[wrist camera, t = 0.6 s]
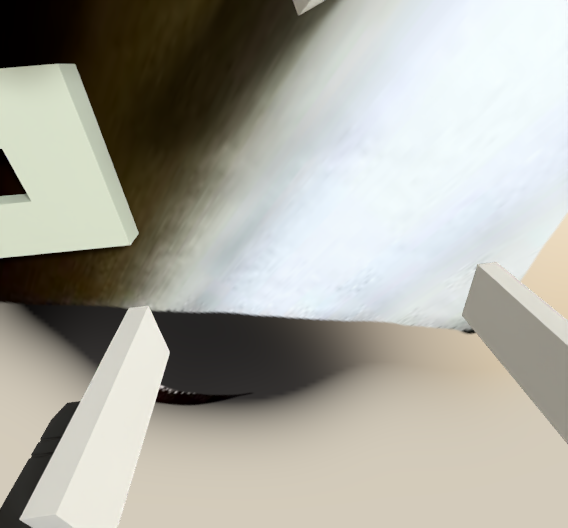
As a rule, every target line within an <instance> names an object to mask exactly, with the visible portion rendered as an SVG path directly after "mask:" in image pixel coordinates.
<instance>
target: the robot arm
mask: <svg viewBox="0 0 568 528" xmlns="http://www.w3.org/2000/svg"><path fill="white" fill-rule="evenodd" d="M462 316H463V317H464V319H465V320H466V321H467V322H468V323H469V325H470V326H471V327H472V328H473V330H474V331H475V332H476V333H477V334H478V336H479V337H480V338H481V339H482V340H483V342H484V343H485V344H486V345H487V346H488V348H489V349H490V350H491V351H492V353H493V354H494V355H495V356H496V357H497V359H498V360H499V361H500V362H501V364H502V365H503V366H504V367H505V368H506V370H507V371H508V372H509V373H510V375H511V376H512V377H513V378H514V379H515V380H516V382H517V383H518V384H519V385H520V387H521V388H522V389H523V390H524V392H525V393H526V394H527V395H528V396H529V398H530V399H531V400H532V401H533V402H534V404H535V405H536V406H537V407H538V409H539V410H540V411H541V412H542V413H543V415H544V416H545V417H546V418H547V419H548V421H549V422H550V423H551V424H552V426H553V427H554V428H555V429H556V430H557V432H558V433H559V434H560V435H561V436H562V438H563V439H564V440H565V441H566V442H567V444H568V320H567V319H565V318H564V317H563V316H562V315H561V314H559V313H558V312H557V311H556V310H554V309H553V308H552V307H551V306H550V305H548V304H547V303H546V302H545V301H543V300H542V299H541V298H539V296H537V295H536V294H535V293H534V292H532V291H531V290H530V289H529V288H528V287H526V286H525V285H524V284H523V283H521V282H520V281H519V280H518V279H517V278H515V277H514V276H513V275H512V274H511V273H509V272H508V271H507V270H506V269H504V268H503V267H502V266H501V265H500V264H498V263H497V262H493V263H485V264H478V265H477V268H476V271H475V275H474V278H473V281H472V284H471V287H470V291H469V294H468V297H467V300H466V303H465V307H464V310H463V313H462ZM169 353H170V352H169V350H168V348H167V345H166V343H165V341H164V339H163V337H162V334H161V332H160V330H159V328H158V326H157V324H156V321H155V319H154V317H153V315H152V312H151V310H150V308H149V306H142V307H134V308H129V309H128V311H127V313H126V315H125V317H124V319H123V321H122V323H121V324H120V326H119V328H118V330H117V332H116V334H115V336H114V338H113V340H112V342H111V344H110V346H109V348H108V350H107V352H106V354H105V355H104V357H103V359H102V361H101V363H100V365H99V367H98V369H97V371H96V373H95V375H94V376H93V379H92V380H91V382H90V384H89V386H88V388H87V390H86V392H85V394H84V396H83V398H82V400H81V401H79V402H71V403H67V404H66V405H65V406H64V407H63V408H62V409H61V410H60V411H59V412H58V413H57V414H56V415H55V417H54V418H53V419H52V420H51V422H50V423H49V425H48V427H47V428H46V430H45V432H44V434H43V435H42V437H41V441H40V442H39V443H38V444H37V446H36V448H35V449H34V451H33V453H32V454H31V455H32V457H31V459H29V460H28V461H27V463H26V465H25V467H24V468H23V470H22V472H21V474H20V475H19V477H18V479H17V481H16V482H15V484H14V486H13V488H12V489H11V491H10V493H9V495H8V496H7V498H6V500H5V502H4V503H3V505H2V507H1V508H0V528H118V525H119V522H120V518H121V515H122V511H123V508H124V505H125V501H126V498H127V495H128V491H129V488H130V485H131V481H132V478H133V475H134V471H135V468H136V464H137V461H138V457H139V454H140V451H141V447H142V444H143V441H144V438H145V434H146V431H147V427H148V424H149V421H150V417H151V414H152V410H153V407H154V404H155V401H156V397H157V394H158V390H159V387H160V384H161V380H162V377H163V373H164V370H165V366H166V363H167V360H168V357H169Z"/></svg>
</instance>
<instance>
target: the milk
mask: <svg viewBox="0 0 568 528" xmlns="http://www.w3.org/2000/svg"><path fill="white" fill-rule="evenodd" d="M323 1H325V0H293V3H294V5H295V8H296V11H297V14H298V16H299V15H301V14H303V13H304V12H306V11H308V10H310V9H311V8H313V7H315V6H316V5H318V4H320V3H322V2H323Z"/></svg>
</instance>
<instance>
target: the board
mask: <svg viewBox="0 0 568 528" xmlns="http://www.w3.org/2000/svg"><path fill="white" fill-rule="evenodd" d="M0 149H2V150H3V151H4V153H5V155H6V157H7V159H8V160H9V162H10V164H11V166H12V168H13V169H14V171H15V173H16V175H17V177H18V178H19V180H20V182H21V184H22V186H23V187H24V189H25V191H26V193H27V194H20V195H9V196H0V258H6V257H16V256H26V255H36V254H46V253H56V252H66V251H76V250H86V249H96V248H106V247H116V246H126V245H131V244H132V242H133V241H134V239H135V238H136V237H137V235H138V234H139V233H138V230H137V228H136V225H135V222H134V220H133V217H132V214H131V212H130V209H129V206H128V204H127V201H126V198H125V196H124V193H123V190H122V188H121V185H120V182H119V180H118V177H117V174H116V172H115V169H114V166H113V164H112V161H111V158H110V156H109V153H108V150H107V148H106V145H105V142H104V140H103V137H102V134H101V132H100V129H99V126H98V124H97V121H96V118H95V116H94V113H93V110H92V108H91V105H90V102H89V100H88V97H87V94H86V92H85V89H84V86H83V84H82V81H81V78H80V76H79V73H78V70H77V68H76V65H75V64H48V65H36V66H24V67H12V68H0Z"/></svg>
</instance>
